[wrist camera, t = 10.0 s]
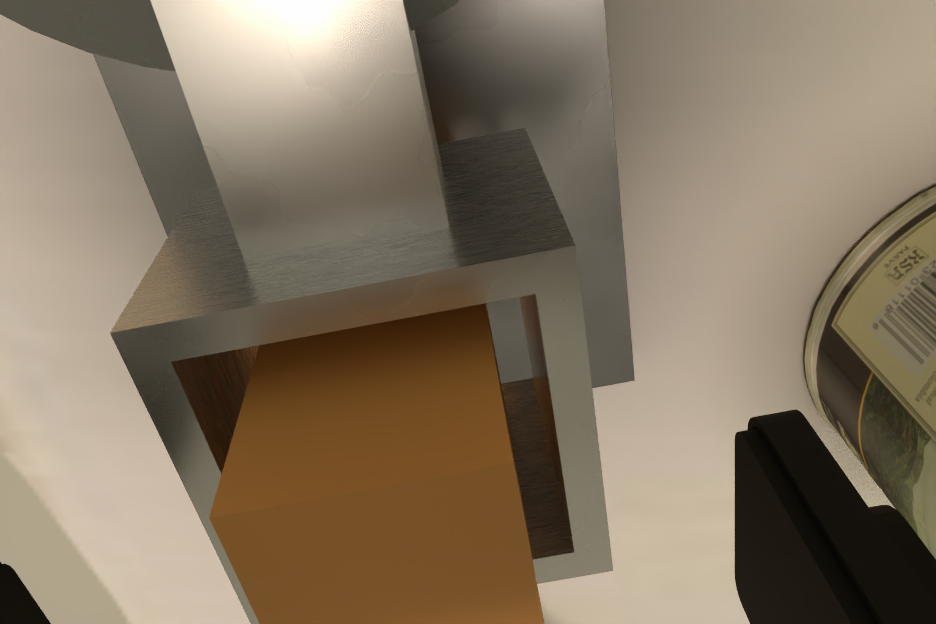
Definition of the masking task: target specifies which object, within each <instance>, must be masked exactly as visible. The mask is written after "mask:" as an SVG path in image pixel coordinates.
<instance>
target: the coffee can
mask: <svg viewBox="0 0 936 624" xmlns="http://www.w3.org/2000/svg"><path fill="white" fill-rule="evenodd" d="M805 372H806V379H807V384H808V388H809V391H810V394H811V397H812V399H813V401H814V404H815V406H816V408H817V410H818V411H819V413H820V414H821V416H822V417H823V419H824V420H825V421H826V422H827V423H828V424H829V425H830V426H831V427H832V428H833V429H834V430H835V431H836V432H838V433H839V434H840V436H841V437H842V438H843V440H844V441H845V443H846V444H847V446H848V447H849V448H850V450H851V451H852V452H853V453H854V455H855V456H856V457H857V458H858V459H859V461H860V462H861V463H862V465H863V466H864V467H865V469H866V470H867V472H868V473H869V475H870V476H871V477H872V479H873V480H874V481H875V482H876V484H877V485H878V486H879V487H880V488H881V489H882V491H883V492H884V494H885V495H886V497H887V498H888V499H889V501H890V502H891V503H892V505H893V506H894V507H895V509H896V510H898V512H899V513H900V514H901V515H902V516H903V517H904V518H905V519H906V520H907V522H908V523H909V524H910V526H911V527H912V528H913V530H914V531H915V532H916V534H917V535H918V536H919V538H920V539H921V540H922V542H923V543H924V544H925V546H926V547H927V548H928V550H929V551H930V552H931V554H932V555H933V556H934V558H935V559H936V186H935V187H933V188H931V189H929V190H927V191H925V192H923V193H921V194H919V195H917V196H916V197H915V198H913V199H912V200H911V201H909V202H908V203H906V204H905V205H904V206H903V207H901V208H900V209H899V210H897V211H896V212H894V213H893V214H892V215H890V216H889V217H888V218H886V219H885V220H884V221H882V222H881V223H880V224H879V225H878V226H877V227H875V228H874V229H873V230H872V231H871V232H870V233H869V234H868V235H867V236H866V237H865V238H864V239H863V240H862V241H861V242H860V243H859V244H858V245H857V246H856V247H855V248H854V249H853V250H852V252H851V253H850V254H849V255H848V256H847V258H846V259H845V260H844V262H843V263H842V264H841V266H840V267H839V268H838V270H837V271H836V272H835V274H834V275H833V277H832V278H831V280H830V282H829V283H828V285H827V287H826V289H825V291H824V293H823V295H822V296H821V298H820V300H819V302H818V303H817V306H816V308H815V310H814V314H813V318H812V323H811V326H810V329H809V331H808V335H807V341H806V349H805Z"/></svg>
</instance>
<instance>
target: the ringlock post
mask: <svg viewBox="0 0 936 624" xmlns="http://www.w3.org/2000/svg"><path fill="white" fill-rule="evenodd" d="M0 14H1V15H3V16H5V17H7V18H9V19H11V20H13V21H15V22H17V23H19V24H20V25H22V26H24V27H26V28H28V29H30V30H32V31H35V32H37V33H40V34H42V35H45V36H48V37H50V38H53V39H55V40H58V41H60V42H63V43H66V44H68V45H71V46H73V47H76V48H79V49H81V50H84V51H86V52H89V53H93V55H94V57H95V60H96V62H97V65H98V67H99V69H100V72H101V74H102V77H103V79H104V82H105V84H106V87H107V89H108V91H109V94H110V96H111V99H112V101H113V104H114V106H115V109H116V111H117V114H118V116H119V118H120V121H121V123H122V126H123V128H124V131H125V133H126V136H127V138H128V140H129V143H130V145H131V148H132V150H133V153H134V155H135V158H136V160H137V162H138V165H139V167H140V170H141V172H142V175H143V177H144V180H145V182H146V184H147V187H148V189H149V192H150V194H151V197H152V199H153V202H154V204H155V206H156V209H157V211H158V214H159V216H160V219H161V221H162V224H163V226H164V228H165V231H166V233H167V236H168V238H167V240H166V242H165V243H164V245H163V246H162V248H161V250H160V251H159V253H158V255H157V256H156V258H155V260H154V261H153V263H152V265H151V266H150V268H149V270H148V271H147V273H146V275H145V276H144V278H143V279H142V281H141V283H140V284H139V286H138V288H137V289H136V291H135V293H134V294H133V296H132V298H131V299H130V301H129V303H128V304H127V306H126V307H125V309H124V311H123V312H122V314H121V316H120V317H119V319H118V321H117V322H116V324H115V326H114V327H113V329H112V331H111V332H110V334H111V336H112V338H113V340H114V342H115V344H116V346H117V348H118V350H119V352H120V354H121V356H122V358H123V360H124V363H125V365H126V367H127V369H128V371H129V373H130V375H131V377H132V379H133V381H134V383H135V385H136V387H137V389H138V391H139V394H140V396H141V398H142V400H143V402H144V404H145V406H146V408H147V410H148V412H149V414H150V416H151V418H152V420H153V422H154V425H155V427H156V429H157V431H158V433H159V435H160V437H161V439H162V441H163V443H164V445H165V447H166V449H167V451H168V453H169V456H170V458H171V460H172V462H173V464H174V466H175V468H176V470H177V472H178V474H179V476H180V478H181V480H182V482H183V484H184V487H185V489H186V491H187V493H188V495H189V497H190V499H191V501H192V503H193V505H194V507H195V509H196V511H197V513H198V515H199V518H200V520H201V522H202V524H203V526H204V528H205V530H206V532H207V534H208V536H209V538H210V540H211V542H212V544H213V546H214V549H215V551H216V553H217V555H218V557H219V559H220V561H221V563H222V565H223V567H224V569H225V571H226V573H227V575H228V577H229V579H230V582H231V584H232V586H233V588H234V590H235V592H236V594H237V596H238V598H239V600H240V602H241V604H242V606H243V608H244V610H245V613H246V615H247V617H248V619H249V621H250V623H251V624H259V622H258V620H257V617H256V615H255V613H254V611H253V609H252V607H251V605H250V603H249V601H248V599H247V596H246V594H245V592H244V590H243V588H242V586H241V584H240V582H239V580H238V577H237V575H236V573H235V571H234V569H233V567H232V565H231V563H230V561H229V559H228V556H227V554H226V552H225V550H224V548H223V546H222V544H221V542H220V540H219V538H218V535H217V533H216V531H215V529H214V527H213V525H212V523H211V521H210V519H209V516H210V512H211V509H212V505H213V502H214V498H215V495H216V492H217V488H218V485H219V481H220V478H221V475H222V471H223V468H224V464H225V461H226V457H227V454H228V451H229V447H230V444H231V440H232V437H233V433H234V430H235V427H236V423H237V420H238V416H239V413H240V409H241V406H242V403H243V399H244V396H245V392H246V389H247V385H248V382H249V379H250V375H251V372H252V368H253V365H254V362H255V358H256V355H257V351H258V348H259V345H263V344H269V343H274V342H279V341H285V340H290V339H296V338H301V337H306V336H312V335H317V334H322V333H328V332H333V331H339V330H344V329H349V328H355V327H360V326H365V325H371V324H376V323H382V322H387V321H392V320H398V319H403V318H409V317H414V316H419V315H425V314H430V313H435V312H441V311H446V310H452V309H457V308H462V307H468V306H473V305H478V304H484V303H487V308H488V314H489V319H490V325H491V330H492V336H493V341H494V347H495V353H496V358H497V364H498V369H499V375H500V380H501V386H502V392H503V397H504V403H505V408H506V414H507V419H508V425H509V431H510V436H511V442H512V447H513V453H514V458H515V464H516V470H517V475H518V481H519V486H520V492H521V497H522V503H523V509H524V514H525V520H526V525H527V531H528V536H529V542H530V548H531V553H532V559H533V564H534V570H535V575H536V581H537V584H539V583H545V582H551V581H557V580H562V579H568V578H574V577H579V576H585V575H591V574H596V573H602V572H608V571H613V565H612V557H611V548H610V539H609V531H608V522H607V513H606V505H605V496H604V487H603V479H602V470H601V461H600V453H599V444H598V435H597V427H596V418H595V409H594V401H593V392H592V388H596V387H601V386H607V385H612V384H618V383H623V382H629V381H634V368H633V355H632V343H631V330H630V318H629V306H628V293H627V281H626V268H625V256H624V243H623V231H622V219H621V206H620V194H619V181H618V169H617V156H616V144H615V132H614V119H613V107H612V94H611V82H610V69H609V57H608V45H607V32H606V20H605V7H604V0H0Z"/></svg>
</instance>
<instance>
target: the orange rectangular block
mask: <svg viewBox="0 0 936 624" xmlns="http://www.w3.org/2000/svg"><path fill="white" fill-rule="evenodd" d="M209 519H210V521H211V523H212V525H213V527H214V529H215V531H216V533H217V535H218V538H219V540H220V542H221V544H222V546H223V548H224V550H225V552H226V554H227V556H228V559H229V561H230V563H231V565H232V567H233V569H234V571H235V573H236V575H237V577H238V580H239V582H240V584H241V586H242V588H243V590H244V592H245V594H246V596H247V599H248V601H249V603H250V605H251V607H252V609H253V611H254V613H255V615H256V617H257V620H258V622H259V624H544V620H543V614H542V609H541V603H540V598H539V592H538V587H537V581H536V575H535V570H534V564H533V559H532V553H531V548H530V542H529V536H528V531H527V525H526V520H525V514H524V509H523V503H522V497H521V492H520V486H519V481H518V475H517V470H516V464H515V458H514V453H513V447H512V442H511V436H510V431H509V425H508V419H507V414H506V408H505V403H504V397H503V392H502V386H501V380H500V375H499V369H498V364H497V358H496V353H495V347H494V341H493V336H492V330H491V325H490V319H489V314H488V308H487V303H484V304H478V305H473V306H468V307H462V308H457V309H452V310H446V311H441V312H435V313H430V314H425V315H419V316H414V317H409V318H403V319H398V320H392V321H387V322H382V323H376V324H371V325H365V326H360V327H355V328H349V329H344V330H339V331H333V332H328V333H322V334H317V335H312V336H306V337H301V338H296V339H290V340H285V341H279V342H274V343H269V344H263V345H259V348H258V351H257V355H256V358H255V362H254V365H253V368H252V372H251V375H250V379H249V382H248V385H247V389H246V392H245V396H244V399H243V403H242V406H241V409H240V413H239V416H238V420H237V423H236V427H235V430H234V433H233V437H232V440H231V444H230V447H229V451H228V454H227V457H226V461H225V464H224V468H223V471H222V475H221V478H220V481H219V485H218V488H217V492H216V495H215V498H214V502H213V505H212V509H211V512H210V516H209Z"/></svg>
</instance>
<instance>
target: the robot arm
mask: <svg viewBox="0 0 936 624" xmlns="http://www.w3.org/2000/svg"><path fill="white" fill-rule="evenodd" d="M735 581H736V587H737V591H738V595H739V598H740V601H741V603H742V606H743V608H744V611H745V613H746V615H747V617H748V620H749V622H750V624H936V559H935V558H934V556H933V555H932V554H931V552H930V551H929V550H928V548H927V547H926V546H925V544H924V543H923V542H922V540H921V539H920V538H919V536H918V535H917V534H916V532H915V531H914V530H913V528H912V527H911V526H910V524H909V523H908V522H907V520H906V519H905V518H904V517H903V516H902V515H901V514H900V513H899V512H898V510H896V509H894V508H893V507H891V506H889V505H880V506H874V507H869V508H868V506H867V505H866V503H865V502H864V500H863V499H862V498H861V496H860V495H859V493H858V492H857V490H856V489H855V488H854V486H853V485H852V483H851V482H850V480H849V479H848V478H847V476H846V475H845V473H844V472H843V470H842V469H841V468H840V466H839V465H838V463H837V462H836V461H835V459H834V458H833V456H832V455H831V453H830V452H829V451H828V449H827V448H826V446H825V445H824V443H823V442H822V441H821V439H820V438H819V436H818V435H817V433H816V432H815V431H814V429H813V428H812V426H811V425H810V423H809V422H808V421H807V419H806V418H805V417H804V415H803V414H802V413H801V412H800V411H798V410H791V411H785V412H780V413H774V414H769V415H763V416H758V417H753V418H750V420H749V422H748V430H747V431H741V432H737V433H736V435H735ZM0 624H51V623H50V622H49V620H48V619H47V618H46V616H45V615H44V613H43V612H42V610H41V609H40V607H39V606H38V605H37V603H36V602H35V600H34V599H33V597H32V596H31V594H30V593H29V591H28V590H27V588H26V587H25V585H24V584H23V582H22V581H21V580H20V578H19V577H18V575H17V574H16V572H15V571H14V570H13V569H12V568H11V566H9V565H6V564H2V563H1V562H0Z"/></svg>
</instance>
